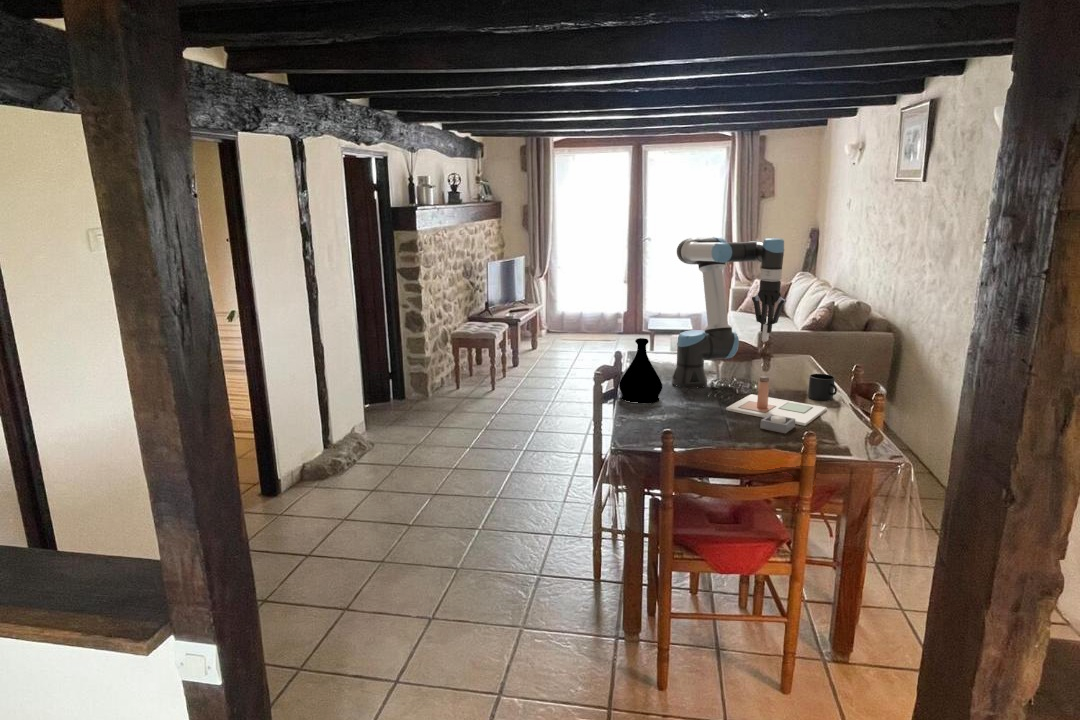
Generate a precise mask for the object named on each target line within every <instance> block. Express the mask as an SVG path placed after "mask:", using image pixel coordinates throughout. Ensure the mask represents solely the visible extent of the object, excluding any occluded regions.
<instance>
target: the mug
mask: <svg viewBox="0 0 1080 720" xmlns="http://www.w3.org/2000/svg"><path fill="white" fill-rule="evenodd" d="M835 379H836V377H835V376H833V375H831V374H827V373H813V374H812V373H811V374H810V375H809V380H808V382H809V383H808V391H807V397H808V398H809V399H811V400H814V401H819V402H820V401H821V402H828V401H832V400H833V398H834V396H835V395H836V394H837V392H838V389H837V386H836V385H835Z"/></svg>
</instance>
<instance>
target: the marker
mask: <svg viewBox="0 0 1080 720" xmlns="http://www.w3.org/2000/svg"><path fill="white" fill-rule="evenodd" d="M757 389H758V390H757V395H758V400H757V408H759V409H767V407H768V397H769V390H770V377H769V376H766V375H764V376H763V375H761V376H759V379H758V387H757Z"/></svg>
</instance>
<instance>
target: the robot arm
mask: <svg viewBox="0 0 1080 720" xmlns="http://www.w3.org/2000/svg"><path fill="white" fill-rule="evenodd" d="M784 253H785V240H784V239H783V238H776V237H774V238H773V237H769V238H764V239H763V241H758V240H752V241H751V240H750V241H742V242H741V241H740V242H739V241H738V242H733V241H731V242H727V241H726V240H725V239H724V238H722V237H715V236H713V237H690V238H685V239H683V240H682V241H681V242H680V243H679V244H678V245H677V248H676V256H677V258H678V259H679V261H680V262H682V263H684V264H686V265H698V270H699V272H701V273H702V279H703V291H704V300H705V301H704V302H705V311H706V320H707V321H706V322H707V326H706V328H705V329H704V330H703V329H702V330H701V329H692V330H691V329H690V330H686V331H683V332H681V333H680V334H679V335H678V337H677V342H676V346H677V349H676V368H675V369H674V373H673V375H672V377H671V384H672V383H673V384H674V385H673V384H672V385H673V386H675V385H677V386H676V387H678V386H680V387H679V388H683V387H687V388H686V389H698V388H697V387H701V388H704V387H703V386H705V387H706V386H708V379H707V375H706V371H705V361H710V360H725V359H731V358H733V357H734V356H735V355H736V354H737V352H738V349H739V344H740V343H739V342H740V341H739V336H738V334H737V333H736V332H734V331H733V328H732V326H731V325H730V324H729V323H728V313H727V312H728V311H727V305H726V303H727V302H726V292H725V283H724V273H723V272H724V269H725V268H726V267H727V266H726V264H727V263H741V262H742V263H748V262H749V263H750V262H759V263H761V267H760V275H759V276H760V280H759V291H758V293H757V294H756V295H755V296H752V297H751V300H752V303H753V305H754V306H753V308H754V315H755V320H756V322H757V323H760V332H761V333H762V336H761V341H762V342H768V341H769V337H770V333H772V331H773V330H772V329H773V325H774V324H775V325H776V324H777V323H778V321H779V318H780V316H781V313H782V311H783V307H784V305H785V304H786V303H787V299H786V298H783V297H782V295H781V285H782V281H781V279H782V275H783V263H784ZM760 302H761V303H760ZM777 302H778V304H777ZM760 304H761V305H760ZM776 304H777V306H776V309H775V305H776Z"/></svg>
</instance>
